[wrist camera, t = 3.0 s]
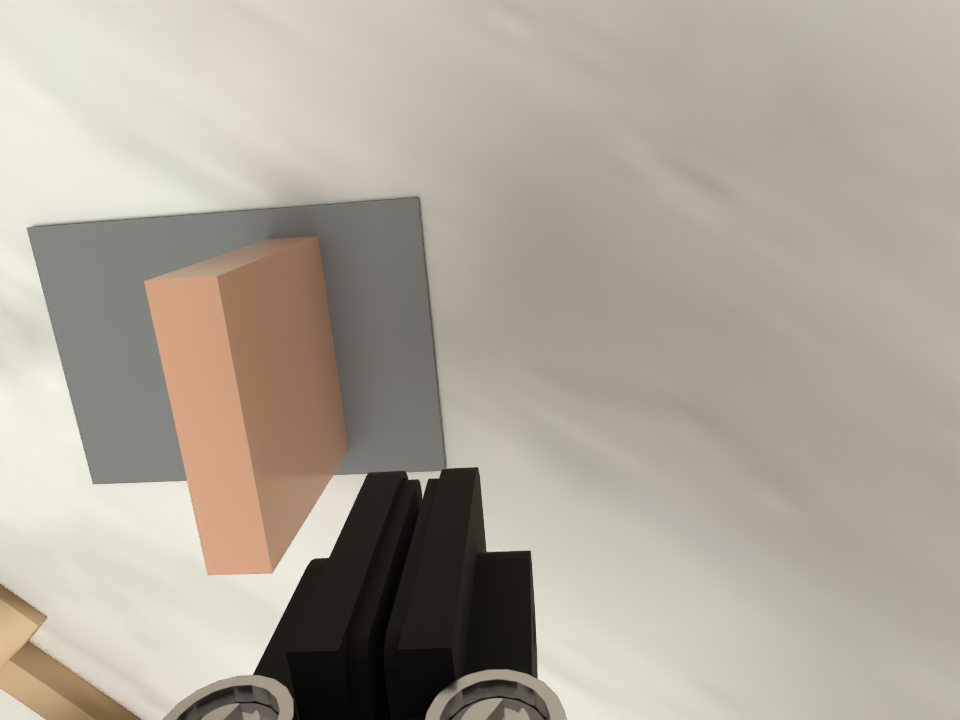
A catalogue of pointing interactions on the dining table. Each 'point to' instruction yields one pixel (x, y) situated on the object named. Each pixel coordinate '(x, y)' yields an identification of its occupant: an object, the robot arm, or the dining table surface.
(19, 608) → the wooden turner
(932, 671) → the dining table surface
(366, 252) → the mat
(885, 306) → the dining table surface
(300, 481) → the tile
